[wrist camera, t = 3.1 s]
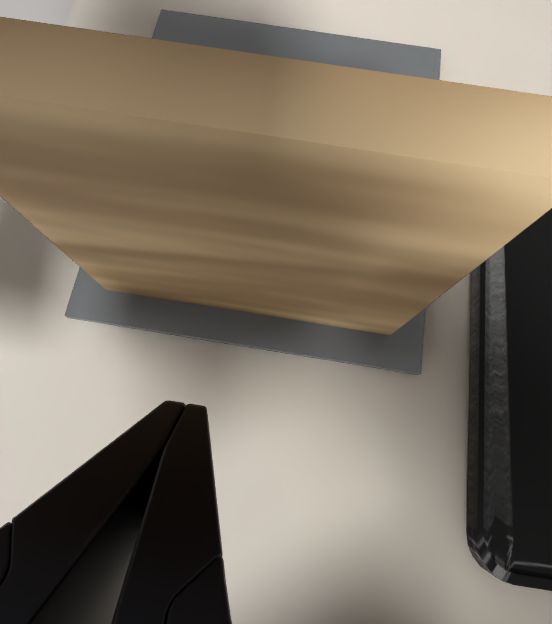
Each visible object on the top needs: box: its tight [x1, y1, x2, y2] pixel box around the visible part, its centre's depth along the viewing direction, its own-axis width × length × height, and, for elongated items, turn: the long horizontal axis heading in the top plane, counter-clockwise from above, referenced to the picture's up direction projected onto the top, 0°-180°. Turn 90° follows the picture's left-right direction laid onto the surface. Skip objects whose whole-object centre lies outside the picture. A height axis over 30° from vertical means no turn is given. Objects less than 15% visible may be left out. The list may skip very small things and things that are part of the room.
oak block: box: [0, 17, 552, 335], centre depth 11 cm, size 2×11×10 cm, turn 81°
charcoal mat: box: [65, 10, 441, 374], centre depth 18 cm, size 16×14×1 cm
